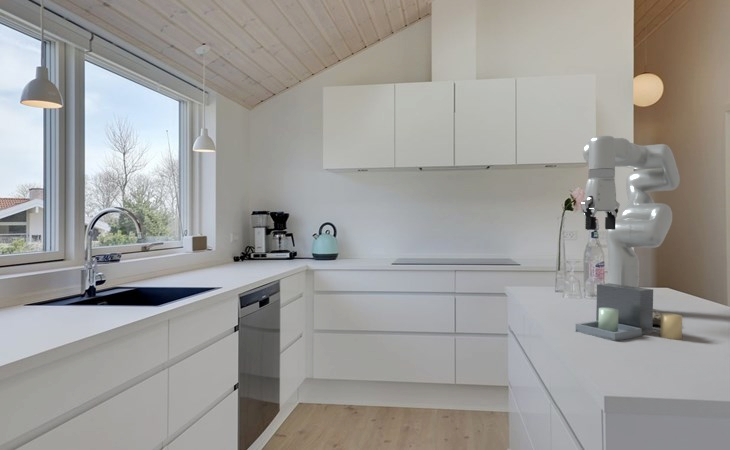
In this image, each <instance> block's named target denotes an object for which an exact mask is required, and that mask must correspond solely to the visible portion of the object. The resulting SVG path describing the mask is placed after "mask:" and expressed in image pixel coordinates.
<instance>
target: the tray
mask: <svg viewBox="0 0 730 450" xmlns="http://www.w3.org/2000/svg"><path fill="white" fill-rule="evenodd" d="M598 322H599V321H596V320H592V321H588V322H580V323H575V332H578V333H582V334H586V335H590V336H595V337H598V338H602V339H606V340H609V341H614V342H616V341H621V340H627V339H633V338H639V337H642V329H641V328H636V327H632V326H627V325H623V324H618V332H611V331H606V330H602V329H598Z"/></svg>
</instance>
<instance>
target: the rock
mask: <svg viewBox="0 0 730 450" xmlns="http://www.w3.org/2000/svg"><path fill="white" fill-rule="evenodd" d="M661 314H662V313H661V312H659V311H656V309H654V308H653V325H656V326H660V327H661Z"/></svg>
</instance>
